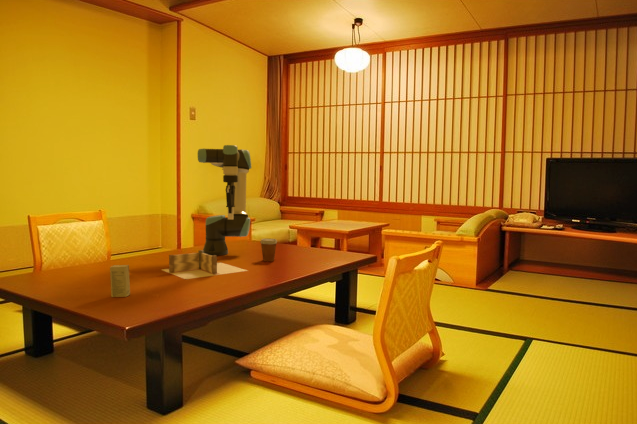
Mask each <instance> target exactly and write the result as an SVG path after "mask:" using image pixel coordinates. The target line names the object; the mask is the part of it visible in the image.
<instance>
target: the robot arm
mask: <svg viewBox="0 0 637 424" xmlns="http://www.w3.org/2000/svg"><path fill="white" fill-rule="evenodd" d="M251 158H252V157H251V153H250V151H249V150H248V149H239V148H238V145H235V144H231V145H230V144H225V145H223V147H222V148H199V149H198V150H197V161H198V162H199V163H203V164H211V166H214V167H218V168H221V170H222V172H223V173H222V174H223V175H222V179H223V183H226V186H225V197H226V198H225V199H226V208H227V217H226V215H225V214H219V215H213V216H211V215H210V216H208V217H206V218H205V225H204V226H205V243H204V245H203V247H202V248H203V249H202V250H203V253H205V254H208V255H211V256H213V255H216V256H225V255H228V254H229V248H228V245H227V242H226V237H233V238H234V237H236V238H237V237H239V238H242V237H243V238H244V237H248V235H249V233H250V228H251V217H249V214H248V213H247V209H246V208H247V174H248V173H249V172H250V170H251V169H252V159H251Z"/></svg>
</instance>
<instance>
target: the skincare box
mask: <svg viewBox="0 0 637 424" xmlns="http://www.w3.org/2000/svg"><path fill="white" fill-rule="evenodd" d="M109 275H110V277H109V278H110V291H111V292H110V293H111V294H110V296H111V298H115V297H116V298H119V297H120V298H123V297H125V298H126V297H128V296H130V295H131V283H130V281H131V280H130V265H129V264H122V265H121V264H114V265H111V266H110V267H109Z"/></svg>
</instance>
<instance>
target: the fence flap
mask: <svg viewBox="0 0 637 424" xmlns="http://www.w3.org/2000/svg"><path fill="white" fill-rule="evenodd" d="M217 263H218V255H208V254H205V253H201V269H203V270H206V271H208V272H211V273H213V274H216V273H217Z"/></svg>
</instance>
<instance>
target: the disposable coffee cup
mask: <svg viewBox="0 0 637 424" xmlns="http://www.w3.org/2000/svg"><path fill="white" fill-rule="evenodd" d="M277 243H278V240H277V239H276V238H261V239H260V246H261V255H262V261H263V262H274V261H275V258H276V257H275V255H276V249H277Z"/></svg>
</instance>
